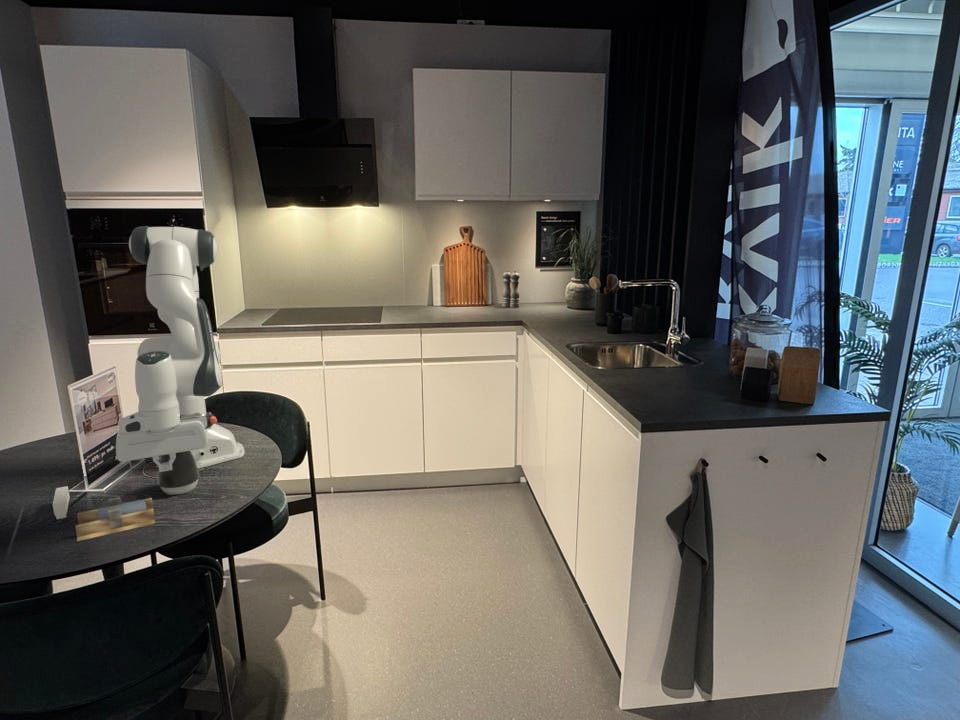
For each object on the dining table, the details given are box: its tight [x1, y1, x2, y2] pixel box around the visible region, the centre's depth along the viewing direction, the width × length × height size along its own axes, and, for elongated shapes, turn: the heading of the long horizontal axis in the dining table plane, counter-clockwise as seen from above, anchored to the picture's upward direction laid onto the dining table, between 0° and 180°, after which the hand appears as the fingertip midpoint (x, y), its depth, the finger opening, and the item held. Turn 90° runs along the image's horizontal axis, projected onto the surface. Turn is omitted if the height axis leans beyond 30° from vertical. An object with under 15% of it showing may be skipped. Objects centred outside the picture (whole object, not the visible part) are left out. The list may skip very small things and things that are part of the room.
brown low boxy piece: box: [75, 496, 156, 542], centre depth 142 cm, size 24×12×6 cm, turn 121°
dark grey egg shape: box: [157, 451, 200, 496], centre depth 160 cm, size 10×10×15 cm
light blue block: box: [97, 498, 147, 520], centre depth 145 cm, size 10×4×4 cm, turn 121°
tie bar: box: [52, 485, 70, 520], centre depth 150 cm, size 2×10×5 cm, turn 31°
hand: (165, 470), depth 147 cm, fingers closed
